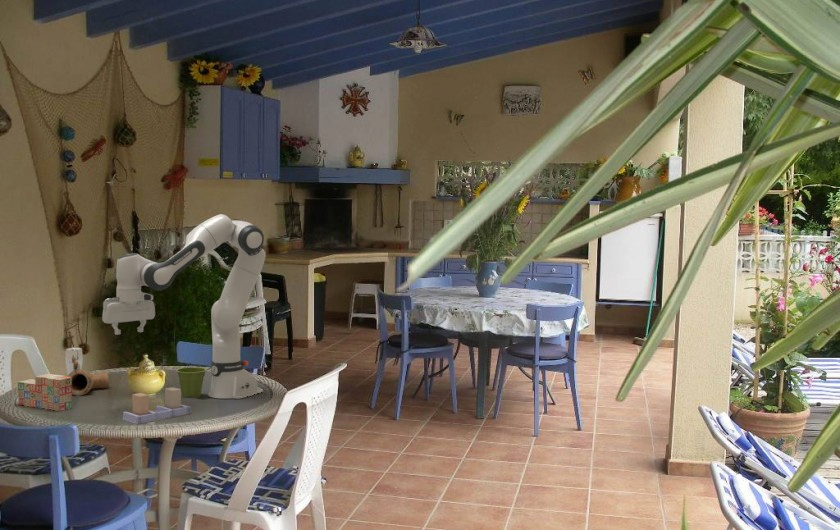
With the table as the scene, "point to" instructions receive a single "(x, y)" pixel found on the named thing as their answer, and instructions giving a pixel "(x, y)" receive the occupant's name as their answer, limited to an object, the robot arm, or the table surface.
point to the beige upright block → (172, 398)
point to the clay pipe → (87, 381)
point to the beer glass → (73, 359)
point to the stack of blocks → (46, 392)
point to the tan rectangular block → (140, 404)
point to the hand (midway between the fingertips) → (129, 333)
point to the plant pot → (191, 381)
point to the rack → (157, 414)
